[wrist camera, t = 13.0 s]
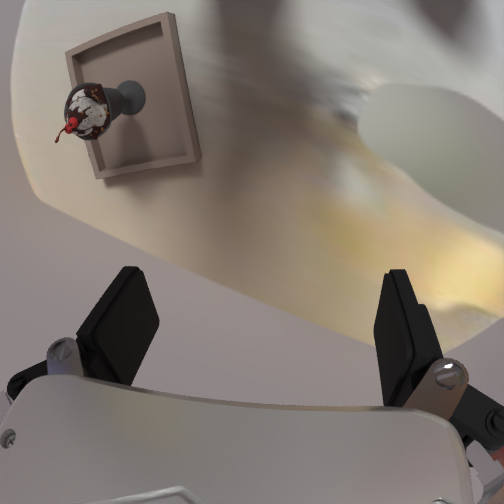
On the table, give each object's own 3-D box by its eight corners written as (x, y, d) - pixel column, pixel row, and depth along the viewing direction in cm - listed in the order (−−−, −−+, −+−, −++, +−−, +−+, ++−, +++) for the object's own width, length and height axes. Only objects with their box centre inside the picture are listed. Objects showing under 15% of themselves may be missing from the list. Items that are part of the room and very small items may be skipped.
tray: (75, 51, 34) (65, 52, 32) (174, 14, 31) (167, 11, 29) (104, 173, 45) (96, 179, 42) (201, 156, 41) (196, 162, 39)
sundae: (115, 126, 40) (46, 161, 27) (105, 81, 36) (30, 102, 24) (155, 115, 38) (92, 147, 26) (146, 68, 35) (76, 80, 22)
